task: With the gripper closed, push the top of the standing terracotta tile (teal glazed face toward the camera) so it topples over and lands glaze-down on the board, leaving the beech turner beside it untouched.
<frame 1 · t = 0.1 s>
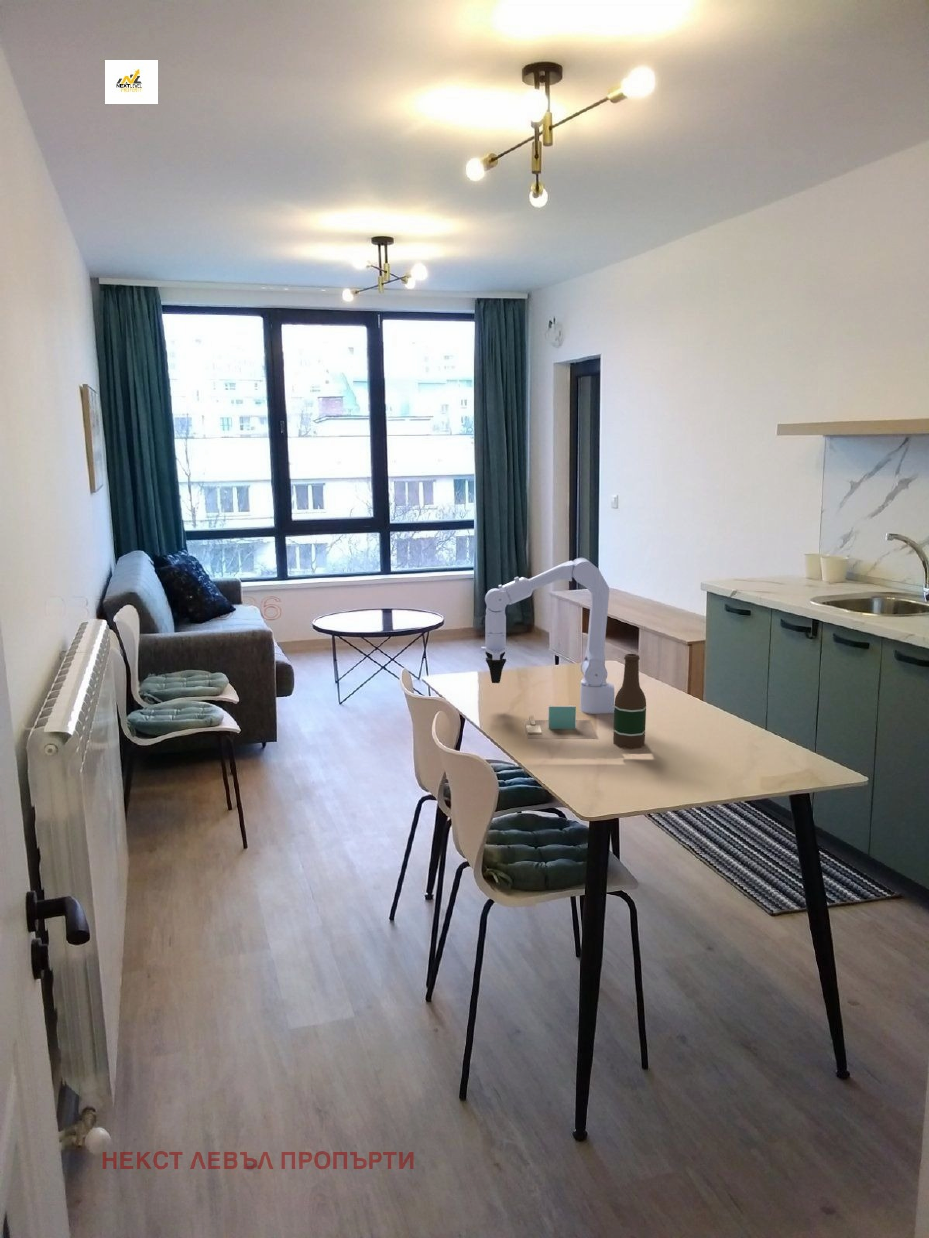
hand: (495, 679, 251), 10 cm above the table, fingers open, 7 cm apart
board: (560, 733, 235), on the table
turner: (533, 727, 236), point 1 cm above the table, touching board
beer bottle: (628, 749, 223), on the table
tile: (561, 727, 236), point 1 cm above the table, touching board
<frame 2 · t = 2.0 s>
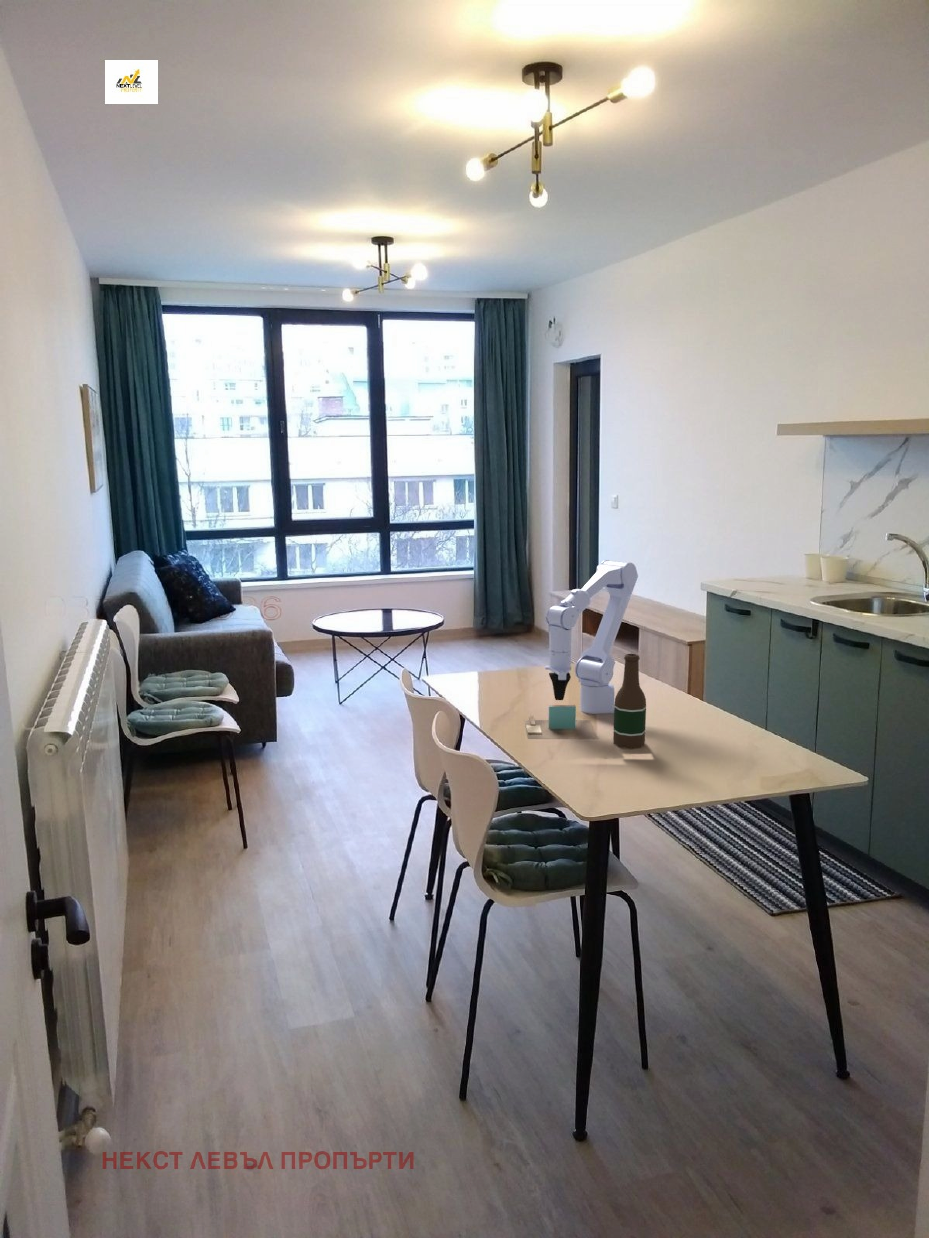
hand: (559, 699, 242), 7 cm above the table, fingers closed
nothing on the table moved.
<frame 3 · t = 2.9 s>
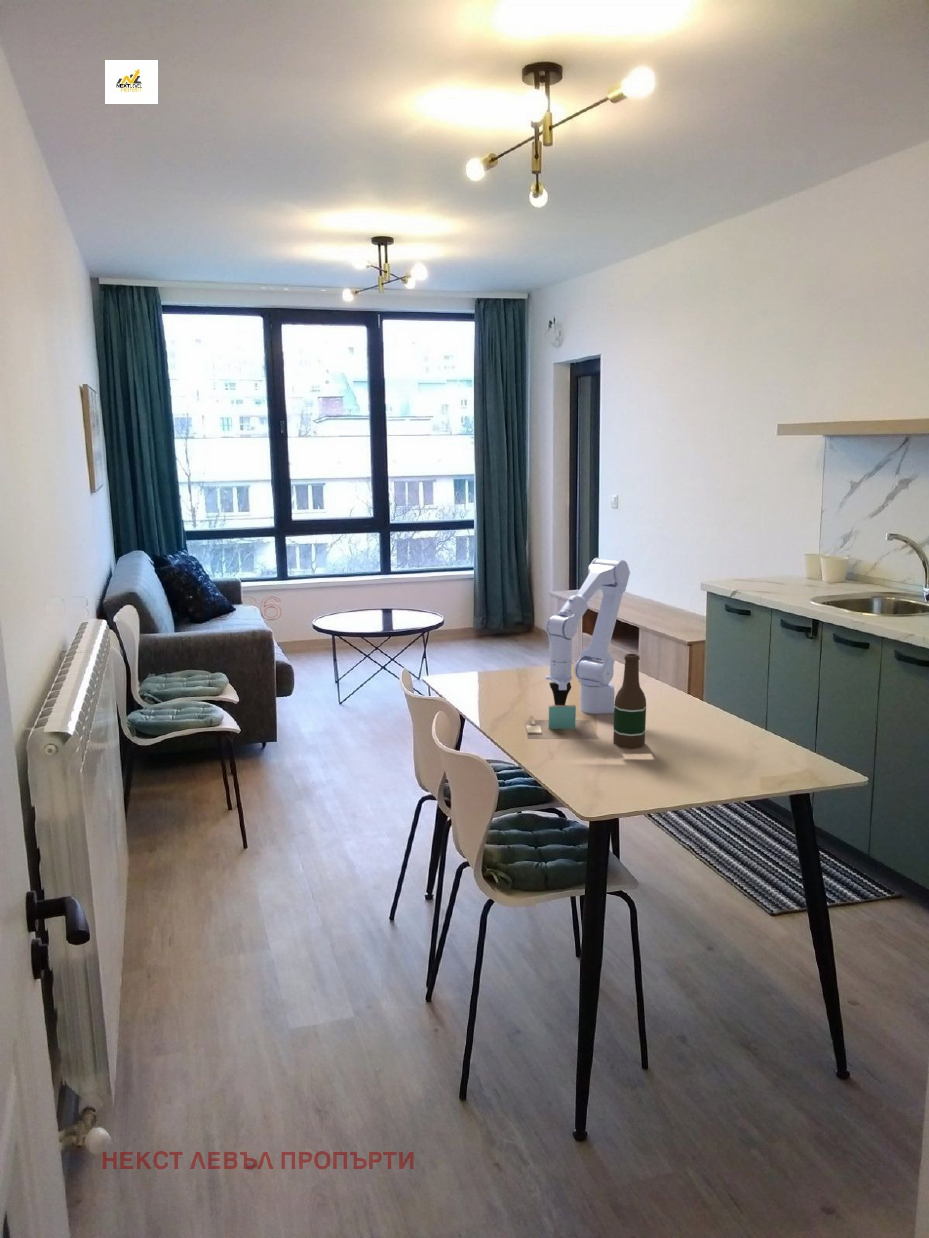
hand: (559, 709, 241), 5 cm above the table, fingers closed
nothing on the table moved.
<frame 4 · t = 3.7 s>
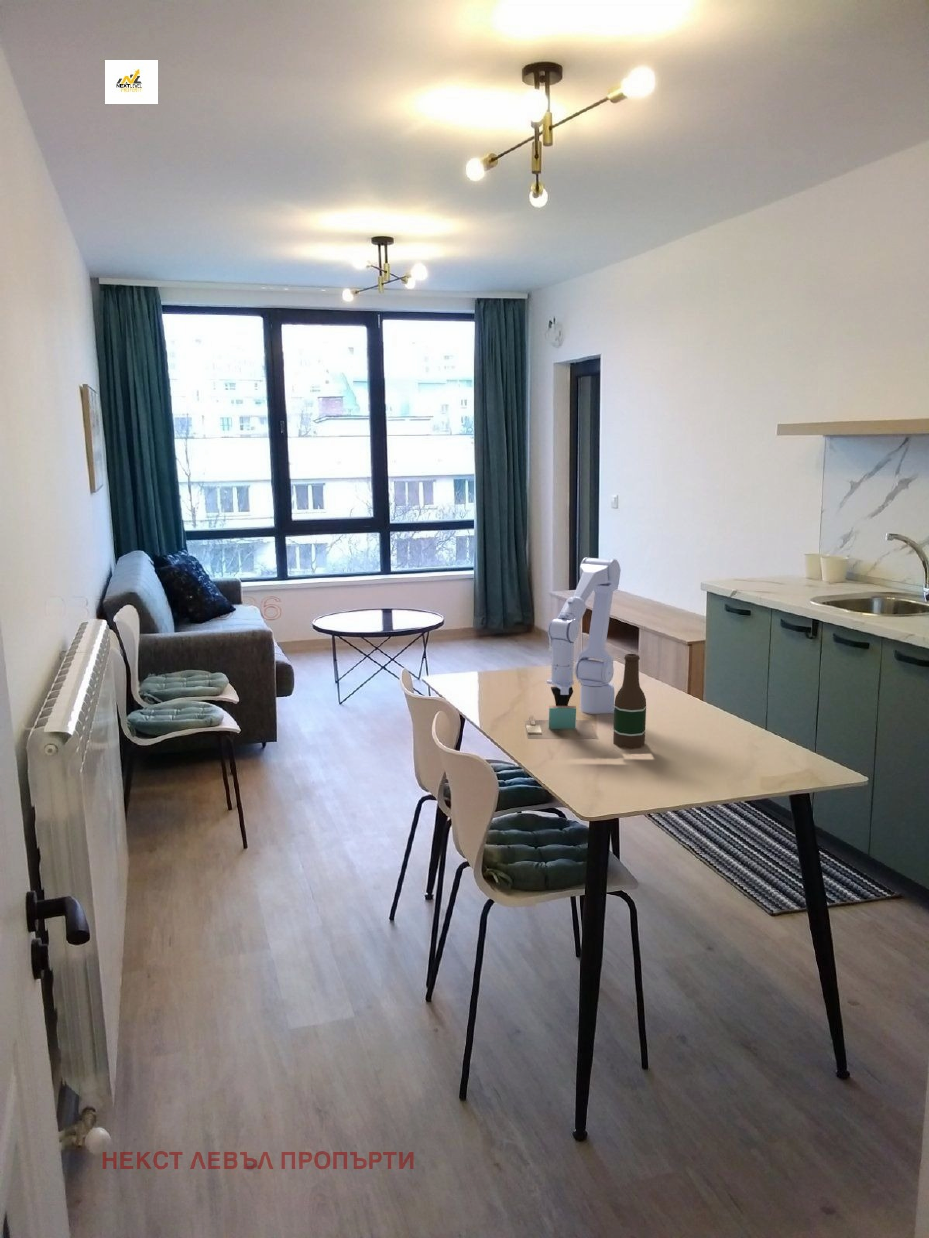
hand: (561, 714, 236), 5 cm above the table, fingers closed
tile: (561, 727, 236), point 1 cm above the table, tilted 12°, touching board, gripper
everything else where it was.
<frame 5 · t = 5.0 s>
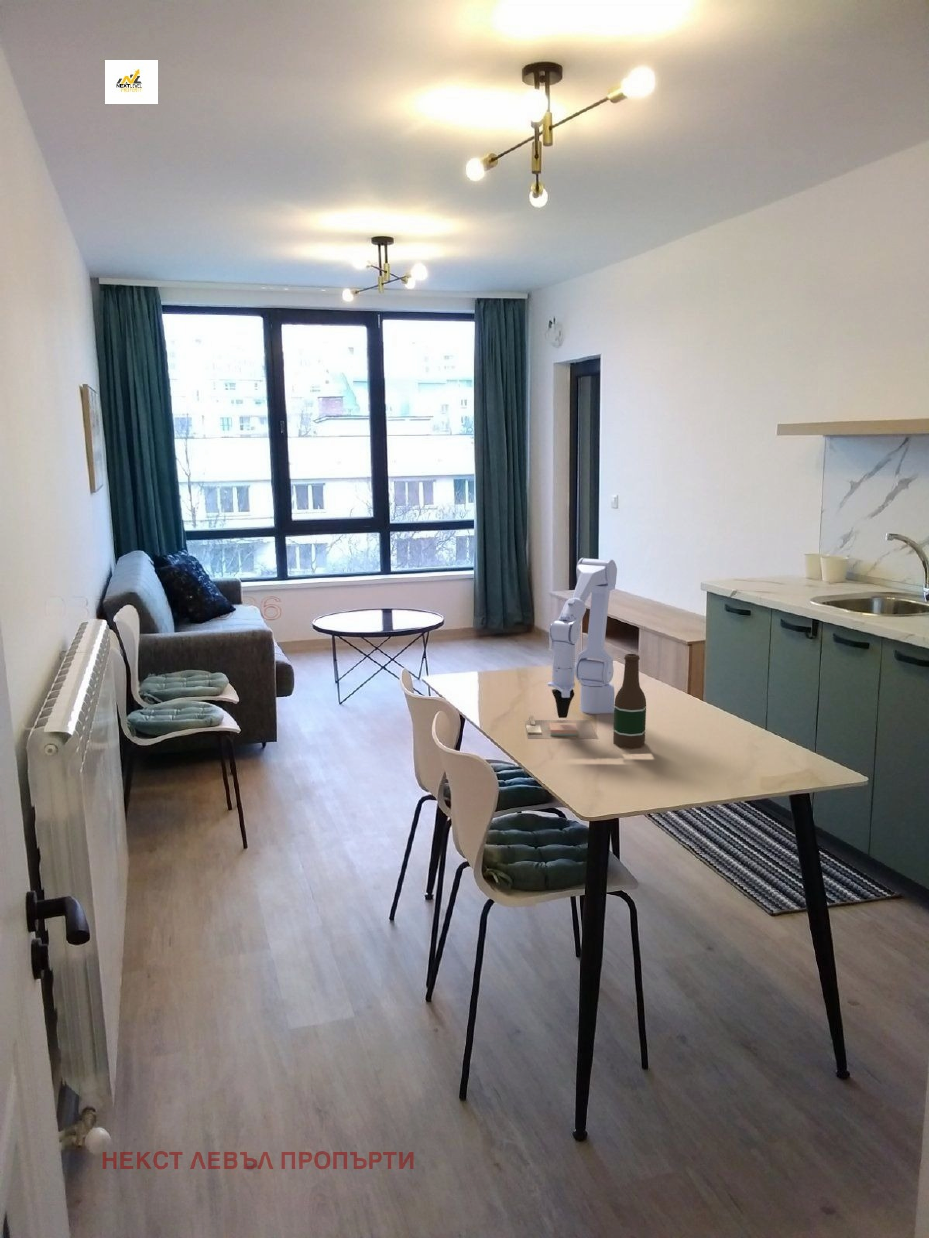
hand: (562, 717, 234), 5 cm above the table, fingers closed
tile: (562, 725, 235), point 2 cm above the table, tilted 90°, touching board
everything else where it was.
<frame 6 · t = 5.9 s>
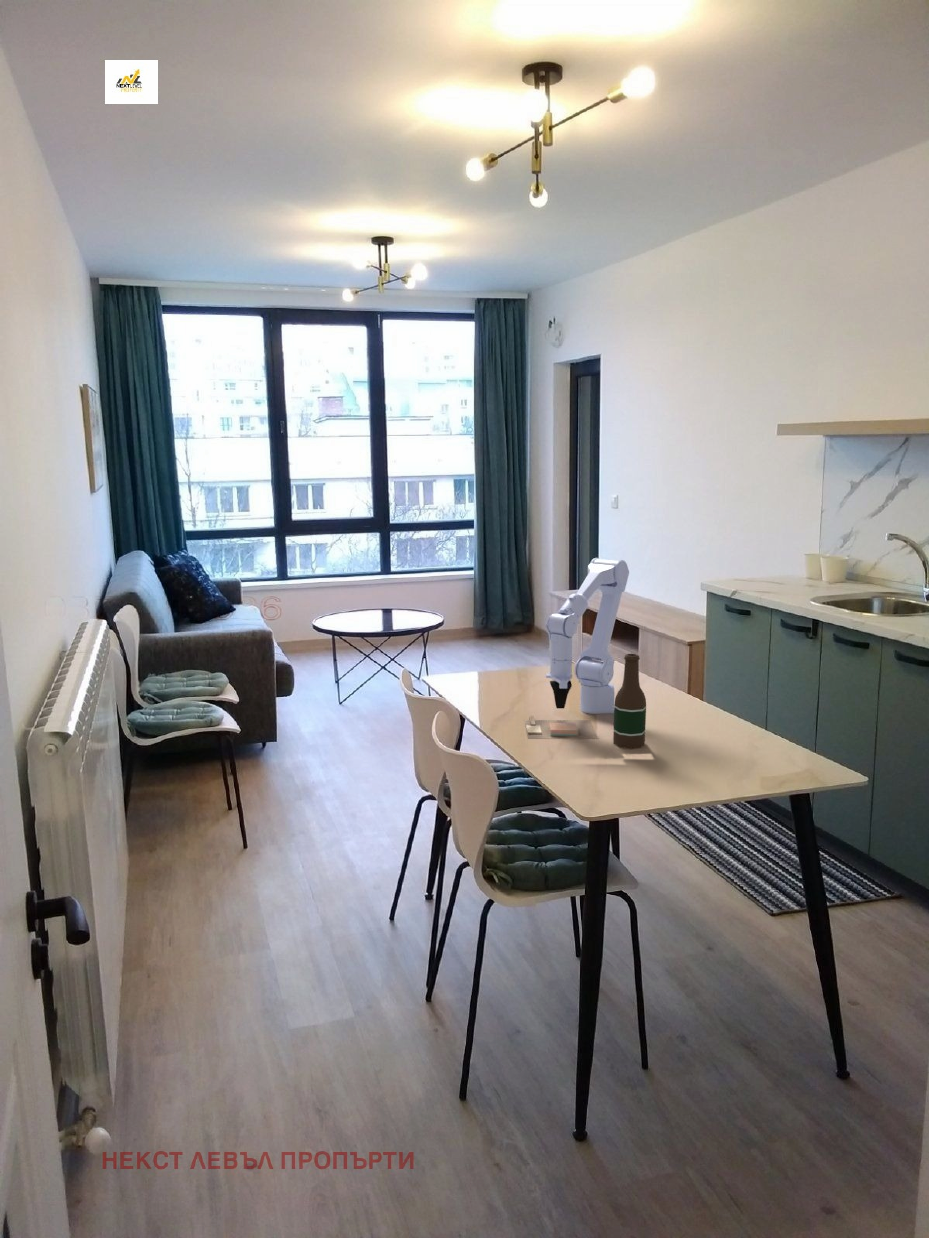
hand: (560, 707, 240), 5 cm above the table, fingers closed
nothing on the table moved.
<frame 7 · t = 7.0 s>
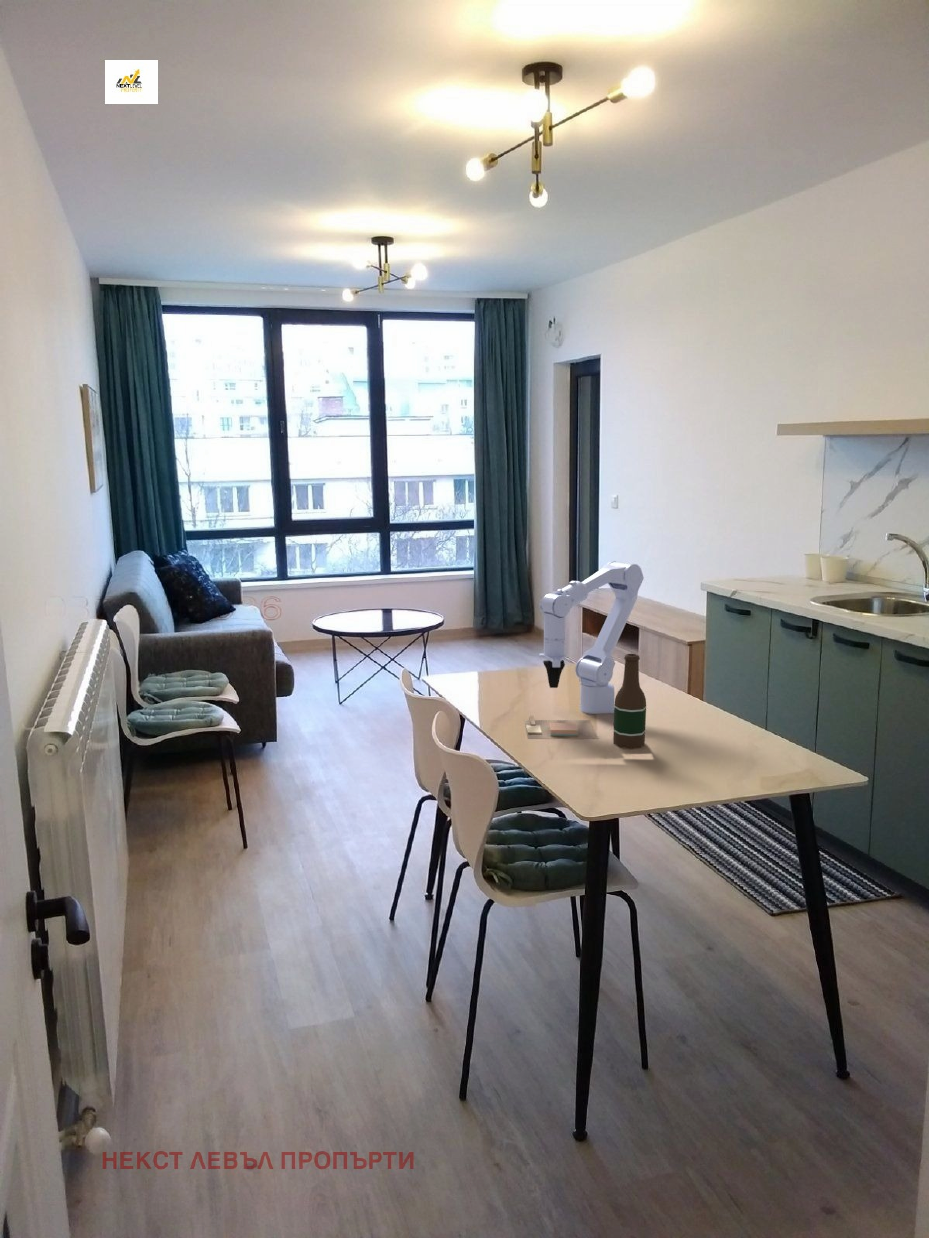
hand: (553, 687, 243), 10 cm above the table, fingers closed
nothing on the table moved.
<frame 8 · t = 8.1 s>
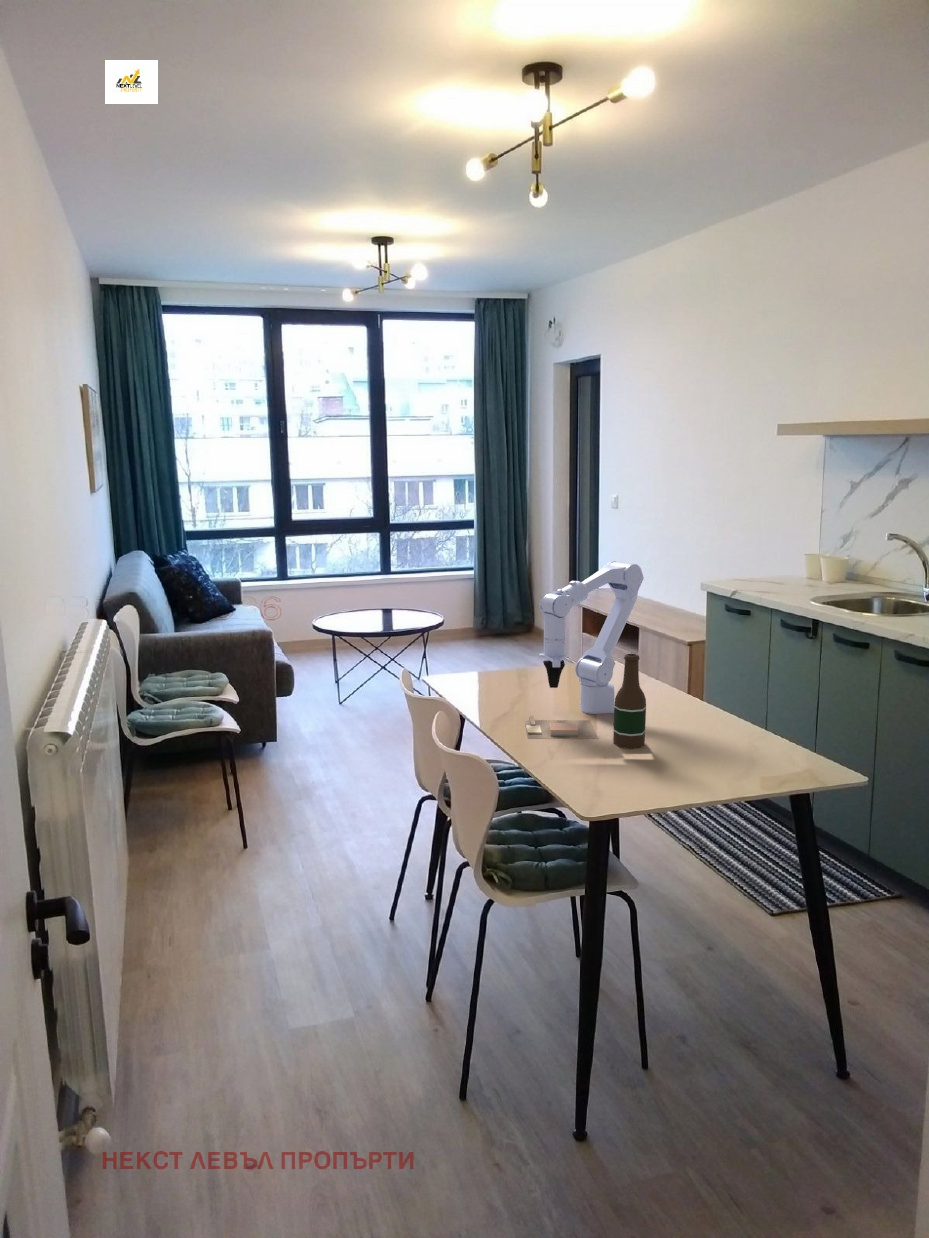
hand: (553, 687, 243), 10 cm above the table, fingers closed
nothing on the table moved.
at the end: tile tilted 90°; tile inside the target area on the board (0.5 cm from its centre), point 2.0 cm above the board's base; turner moved 0.0 cm from its start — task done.
